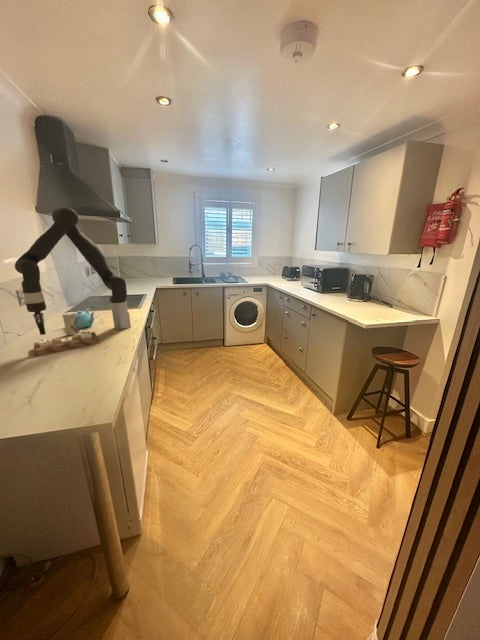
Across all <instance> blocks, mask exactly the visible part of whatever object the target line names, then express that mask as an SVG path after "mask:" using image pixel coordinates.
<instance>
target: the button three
mask: <svg viewBox="0 0 480 640" xmlns="http://www.w3.org/2000/svg"><path fill="white" fill-rule="evenodd" d="M79 335H80V337H81V339H85V338H90V337H92V335H91V331H90V330H89V331H82V332H79Z"/></svg>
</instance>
